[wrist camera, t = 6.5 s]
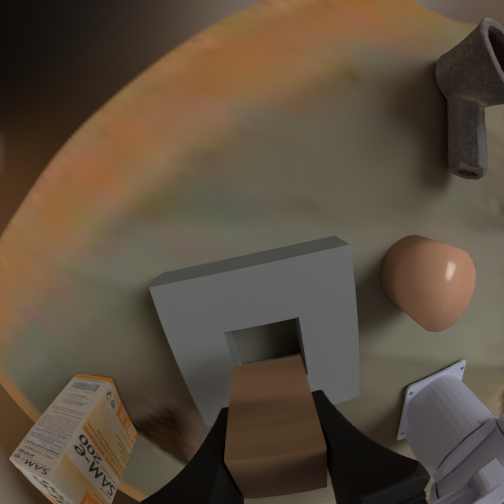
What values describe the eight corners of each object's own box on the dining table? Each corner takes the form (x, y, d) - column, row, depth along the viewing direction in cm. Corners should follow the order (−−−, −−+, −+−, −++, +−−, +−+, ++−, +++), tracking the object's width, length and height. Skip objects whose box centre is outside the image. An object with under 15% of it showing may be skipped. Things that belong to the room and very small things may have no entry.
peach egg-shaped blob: (436, 293, 19) (471, 316, 14) (382, 312, 19) (413, 343, 15) (435, 229, 18) (476, 240, 13) (377, 243, 18) (414, 259, 13)
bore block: (348, 374, 21) (359, 396, 18) (210, 402, 21) (206, 426, 18) (334, 236, 18) (350, 244, 15) (163, 273, 18) (149, 287, 16)
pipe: (422, 164, 17) (498, 159, 9) (422, 36, 14) (472, -1, 7) (471, 185, 17) (540, 191, 10) (469, 65, 15) (521, 43, 7)
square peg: (305, 401, 14) (326, 487, 8) (246, 411, 14) (244, 498, 8) (300, 354, 13) (326, 446, 7) (232, 365, 13) (223, 460, 7)
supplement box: (141, 434, 22) (106, 531, 9) (104, 427, 22) (61, 512, 9) (114, 375, 21) (49, 483, 8) (75, 370, 21) (5, 459, 8)
